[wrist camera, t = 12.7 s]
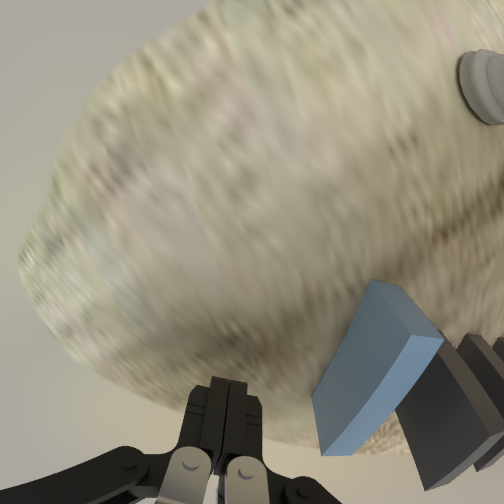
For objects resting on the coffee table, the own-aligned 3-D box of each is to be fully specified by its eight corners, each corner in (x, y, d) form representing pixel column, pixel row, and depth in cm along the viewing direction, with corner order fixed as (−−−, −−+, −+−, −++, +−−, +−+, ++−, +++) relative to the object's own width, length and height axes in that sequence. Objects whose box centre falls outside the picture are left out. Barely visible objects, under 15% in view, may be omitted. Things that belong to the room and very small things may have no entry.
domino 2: (480, 335, 15) (542, 413, 7) (448, 384, 17) (491, 465, 9) (466, 333, 15) (531, 419, 7) (432, 385, 17) (476, 472, 9)
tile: (444, 339, 9) (351, 455, 13) (400, 285, 14) (337, 397, 17) (411, 335, 9) (321, 456, 12) (370, 278, 14) (311, 394, 17)
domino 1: (440, 330, 15) (509, 429, 7) (405, 385, 17) (448, 483, 8) (419, 327, 15) (490, 436, 7) (384, 384, 17) (424, 491, 8)
